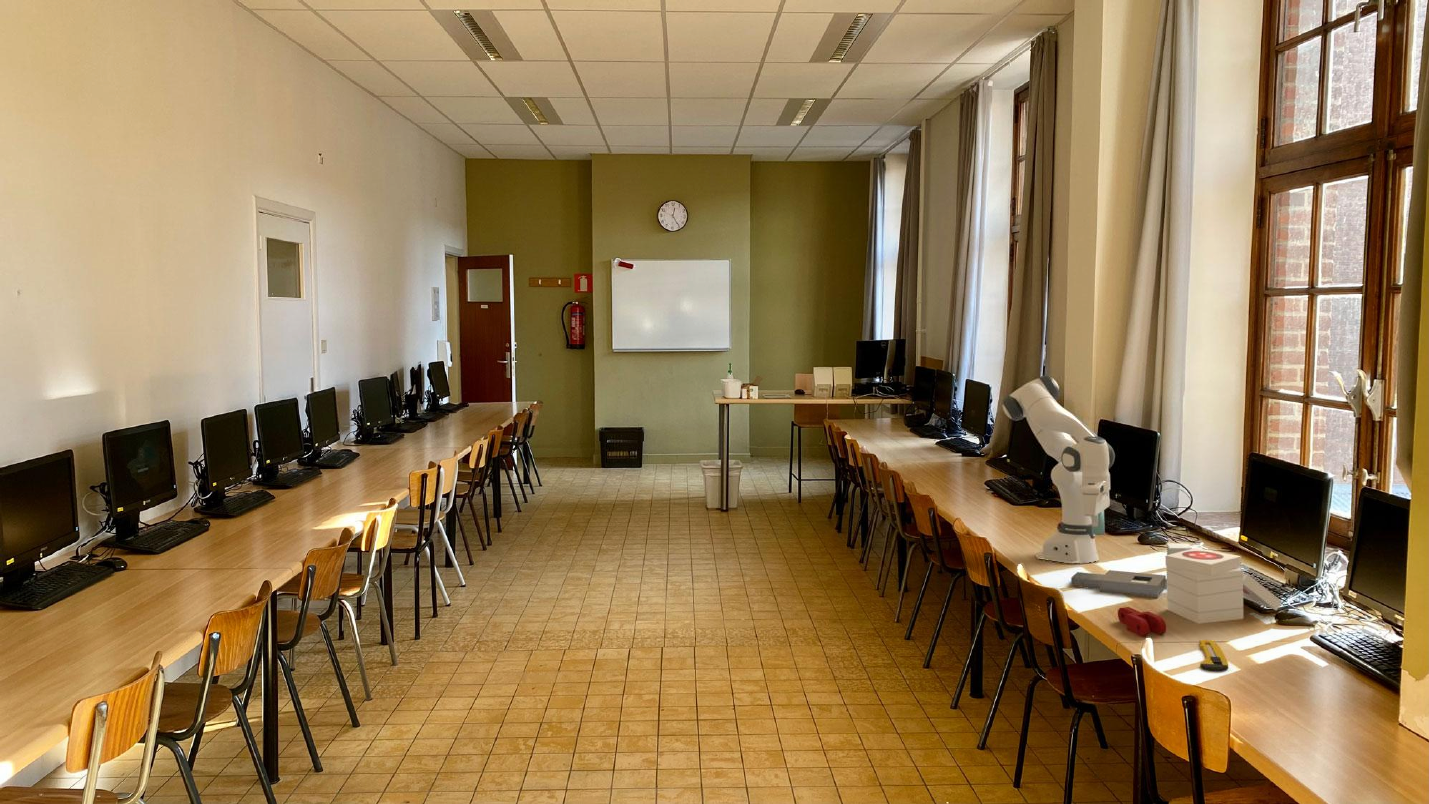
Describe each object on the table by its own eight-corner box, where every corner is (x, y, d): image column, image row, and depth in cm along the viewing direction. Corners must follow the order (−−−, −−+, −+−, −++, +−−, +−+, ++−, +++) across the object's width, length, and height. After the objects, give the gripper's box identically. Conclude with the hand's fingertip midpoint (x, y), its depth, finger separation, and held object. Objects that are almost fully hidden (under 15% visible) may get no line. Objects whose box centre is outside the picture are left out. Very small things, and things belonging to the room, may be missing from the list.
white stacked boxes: (1287, 616, 284) (1286, 557, 282) (1195, 626, 279) (1194, 566, 278) (1242, 598, 302) (1241, 543, 301) (1156, 608, 298) (1155, 551, 297)
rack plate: (1069, 588, 324) (1068, 576, 324) (1079, 578, 336) (1079, 566, 335) (1157, 597, 308) (1157, 585, 308) (1165, 587, 320) (1165, 574, 319)
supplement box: (1190, 579, 328) (1190, 543, 327) (1193, 584, 321) (1193, 548, 320) (1167, 578, 330) (1166, 542, 329) (1169, 584, 323) (1169, 547, 322)
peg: (1090, 534, 323) (1089, 511, 323) (1093, 532, 326) (1093, 509, 326) (1103, 535, 321) (1102, 512, 320) (1106, 533, 324) (1105, 509, 323)
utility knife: (1202, 672, 245) (1202, 664, 245) (1189, 643, 266) (1189, 636, 266) (1231, 674, 243) (1231, 666, 243) (1216, 645, 264) (1216, 638, 264)
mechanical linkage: (1166, 636, 273) (1165, 619, 273) (1144, 638, 272) (1143, 621, 271) (1132, 620, 289) (1131, 604, 288) (1110, 622, 287) (1110, 606, 287)
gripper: (1094, 479, 333) (1096, 518, 334) (1078, 489, 316) (1079, 529, 317) (1113, 480, 329) (1115, 519, 330) (1098, 489, 313) (1099, 531, 313)
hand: (1097, 524), depth 323 cm, fingers closed on peg, 4 cm apart
